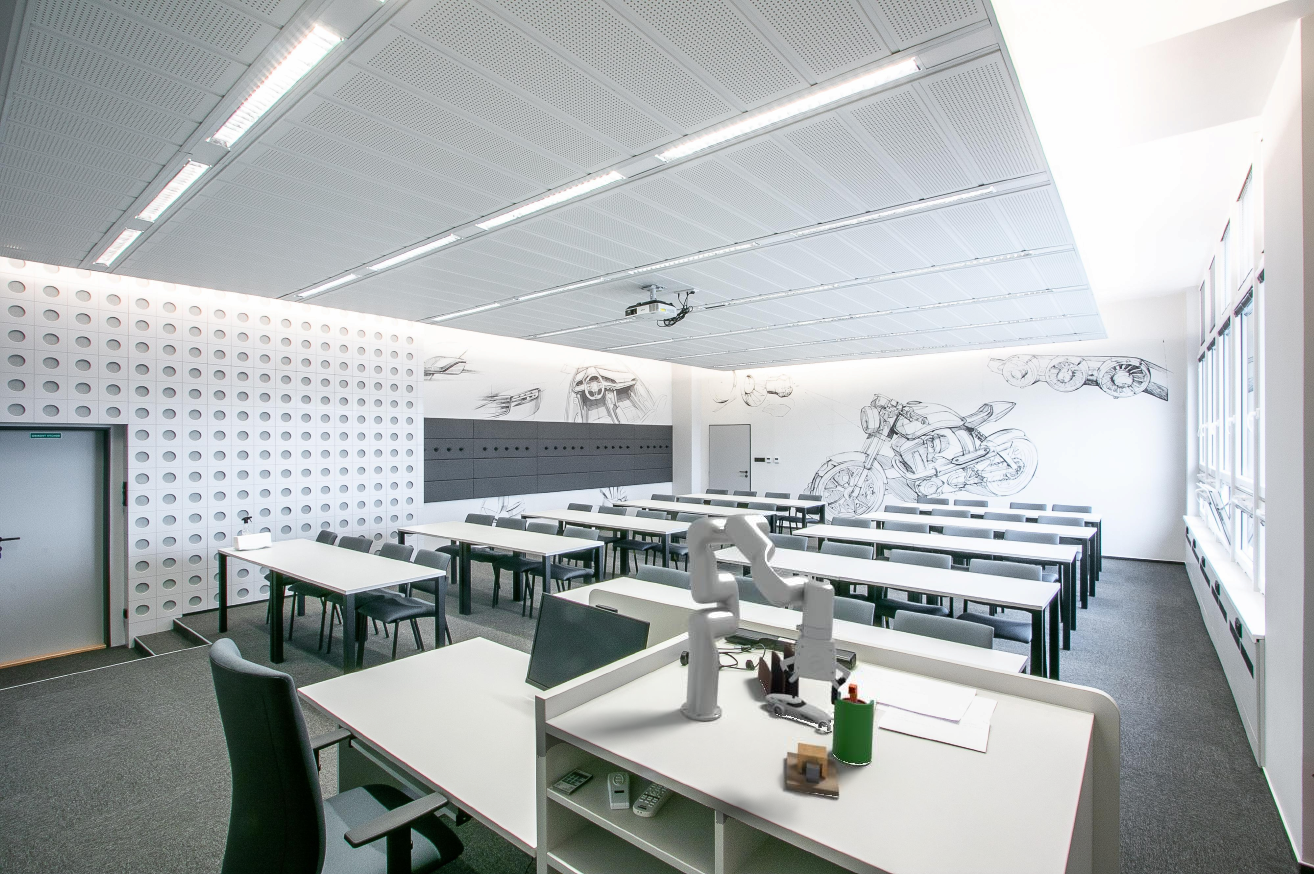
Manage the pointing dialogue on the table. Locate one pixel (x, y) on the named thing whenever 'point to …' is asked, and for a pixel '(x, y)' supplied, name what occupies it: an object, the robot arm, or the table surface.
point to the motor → (853, 728)
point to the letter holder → (777, 673)
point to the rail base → (799, 783)
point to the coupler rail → (812, 772)
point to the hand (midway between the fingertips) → (812, 699)
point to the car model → (798, 710)
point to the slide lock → (812, 756)
